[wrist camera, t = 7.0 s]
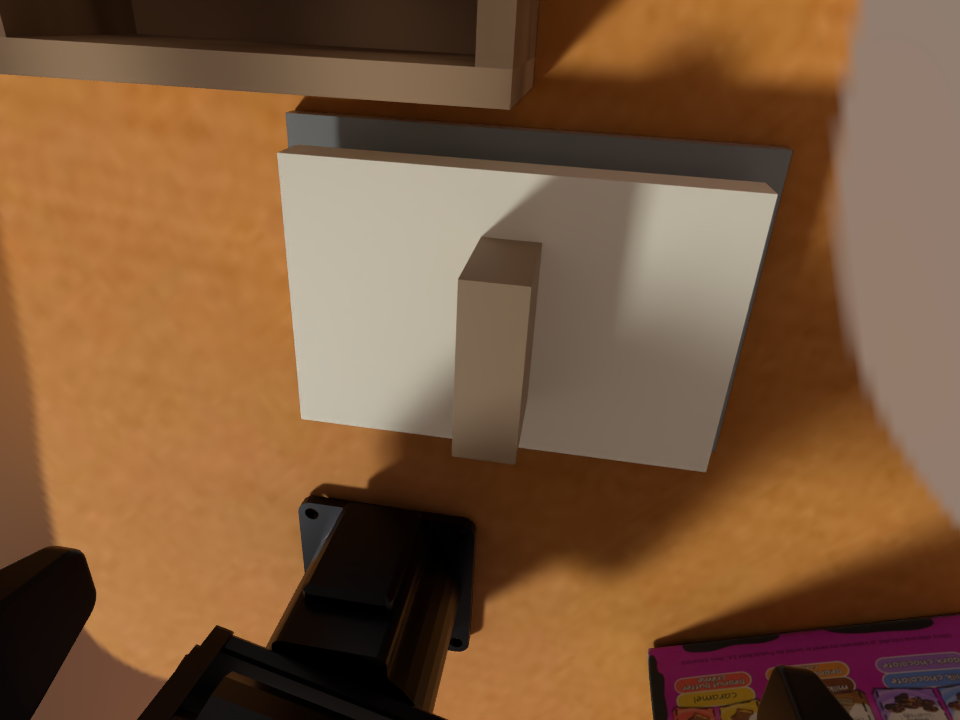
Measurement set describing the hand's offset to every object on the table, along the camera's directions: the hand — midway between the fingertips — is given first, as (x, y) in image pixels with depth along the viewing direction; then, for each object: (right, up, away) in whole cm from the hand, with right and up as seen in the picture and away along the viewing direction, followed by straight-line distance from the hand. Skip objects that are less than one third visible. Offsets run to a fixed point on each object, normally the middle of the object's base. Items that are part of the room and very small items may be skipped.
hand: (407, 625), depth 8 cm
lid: (+2, +5, +10) cm, 11 cm away
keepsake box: (-3, +14, +7) cm, 16 cm away
